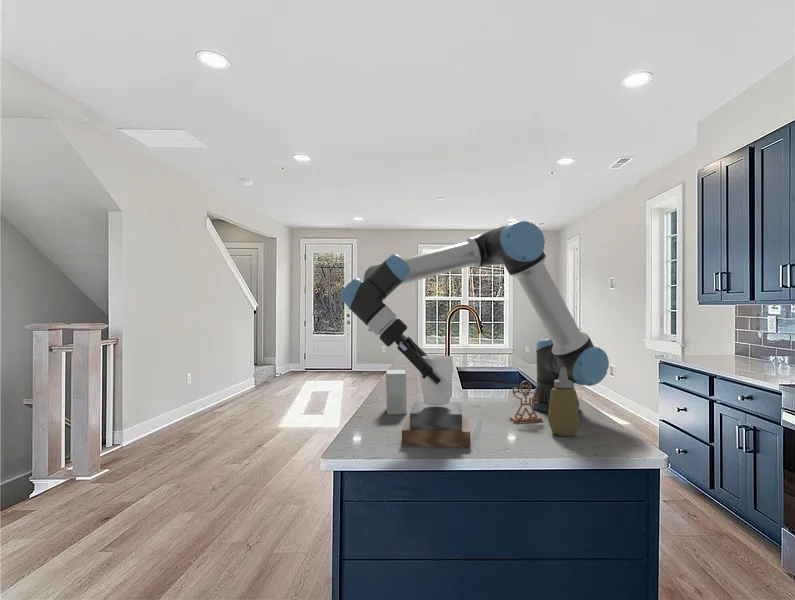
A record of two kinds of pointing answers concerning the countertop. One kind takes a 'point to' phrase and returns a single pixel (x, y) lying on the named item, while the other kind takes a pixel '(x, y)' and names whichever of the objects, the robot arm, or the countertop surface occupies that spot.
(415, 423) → the stepped display pedestal
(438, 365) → the cup
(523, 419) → the gingerbread man figurine
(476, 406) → the countertop surface
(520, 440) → the countertop surface
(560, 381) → the squeeze bottle
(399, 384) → the small box
